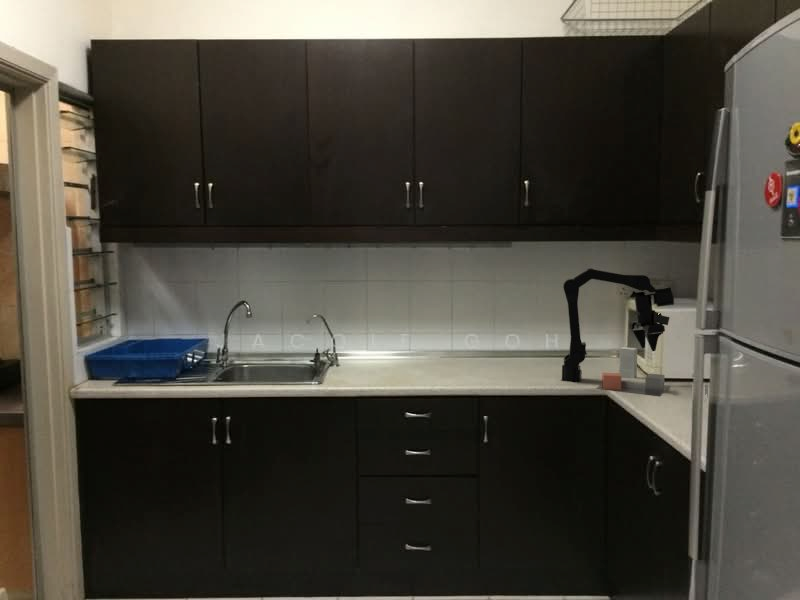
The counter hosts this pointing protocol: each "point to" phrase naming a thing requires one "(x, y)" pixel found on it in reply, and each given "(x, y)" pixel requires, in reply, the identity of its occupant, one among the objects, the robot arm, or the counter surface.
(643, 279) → the robot arm
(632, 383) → the coupler
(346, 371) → the counter surface
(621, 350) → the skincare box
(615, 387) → the block
